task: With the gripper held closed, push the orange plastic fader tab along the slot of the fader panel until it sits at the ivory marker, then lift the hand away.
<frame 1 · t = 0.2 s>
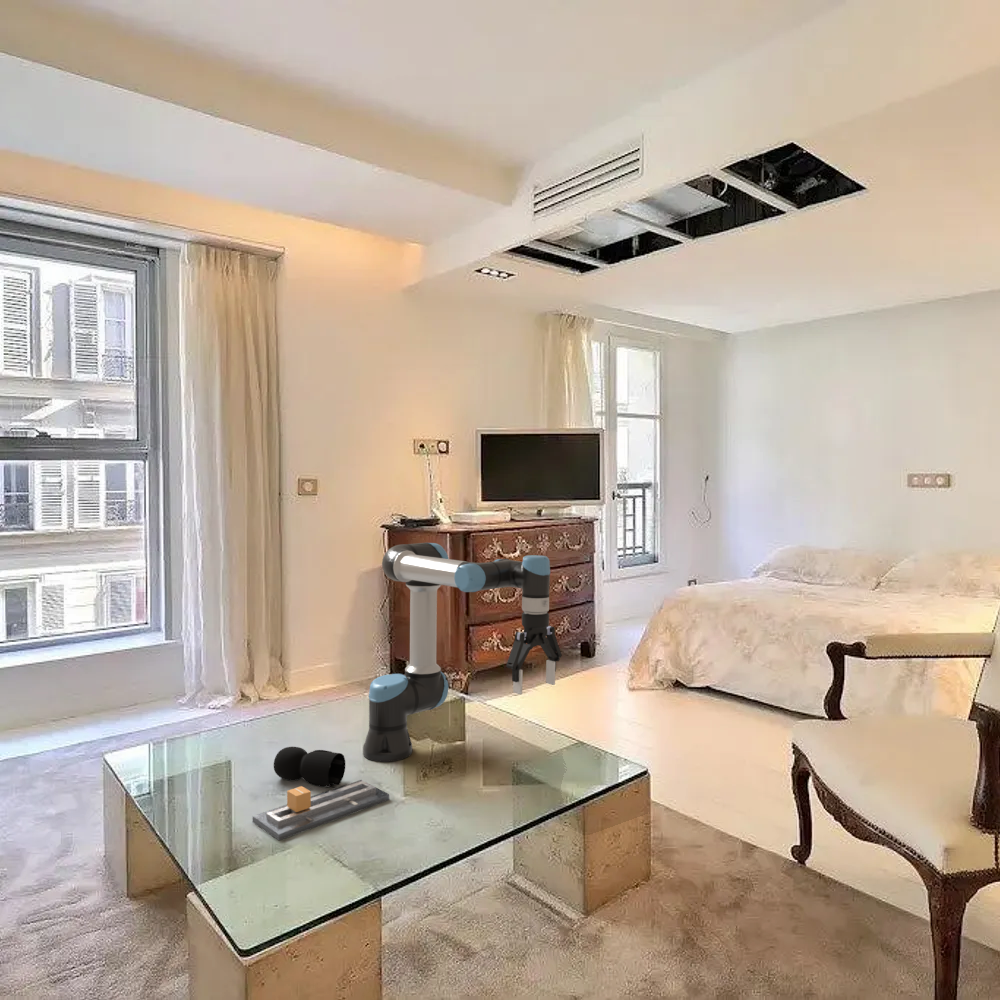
hand: (534, 688, 203), 28 cm above the table, fingers open, 13 cm apart
black hourglass-shaped sleeve: (308, 782, 207), on the table
fader panel: (323, 810, 189), on the table
fader knob: (298, 801, 183), point 4 cm above the table, slide at -7.0 cm
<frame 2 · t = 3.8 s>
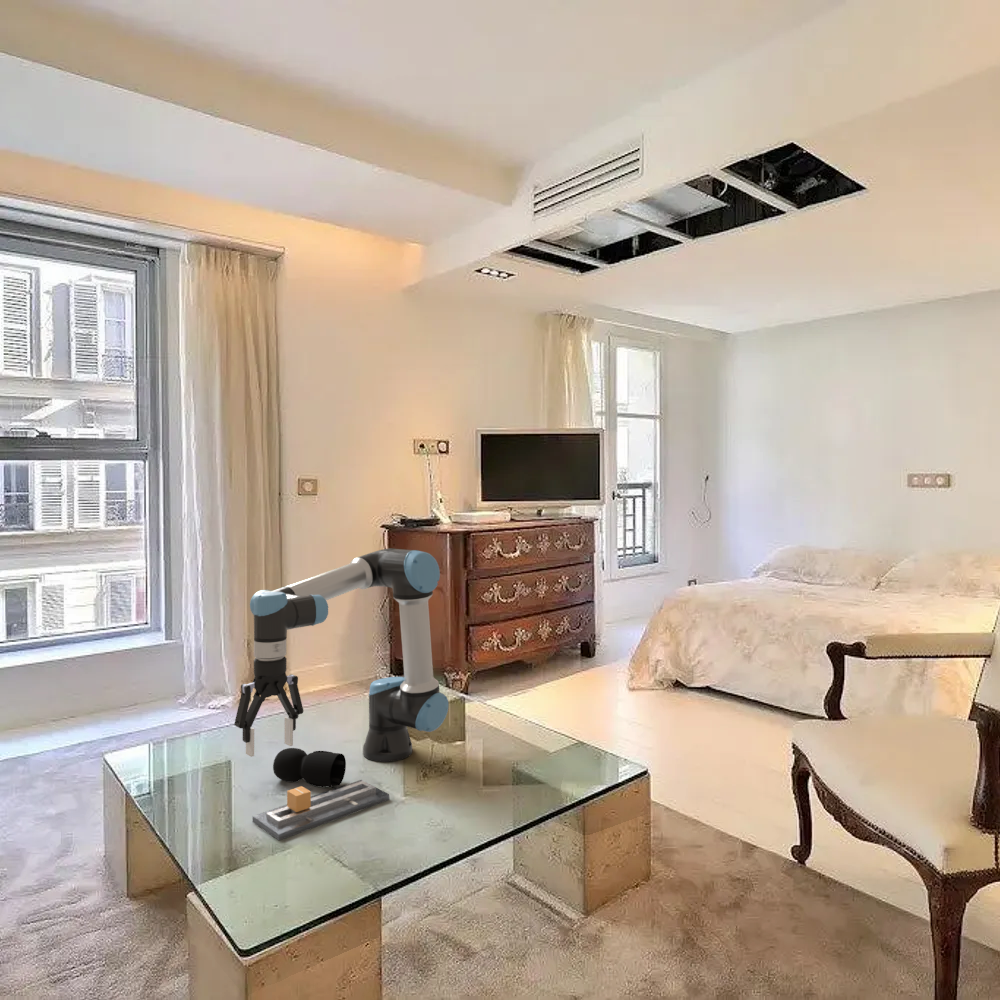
hand: (269, 749, 177), 20 cm above the table, fingers open, 9 cm apart
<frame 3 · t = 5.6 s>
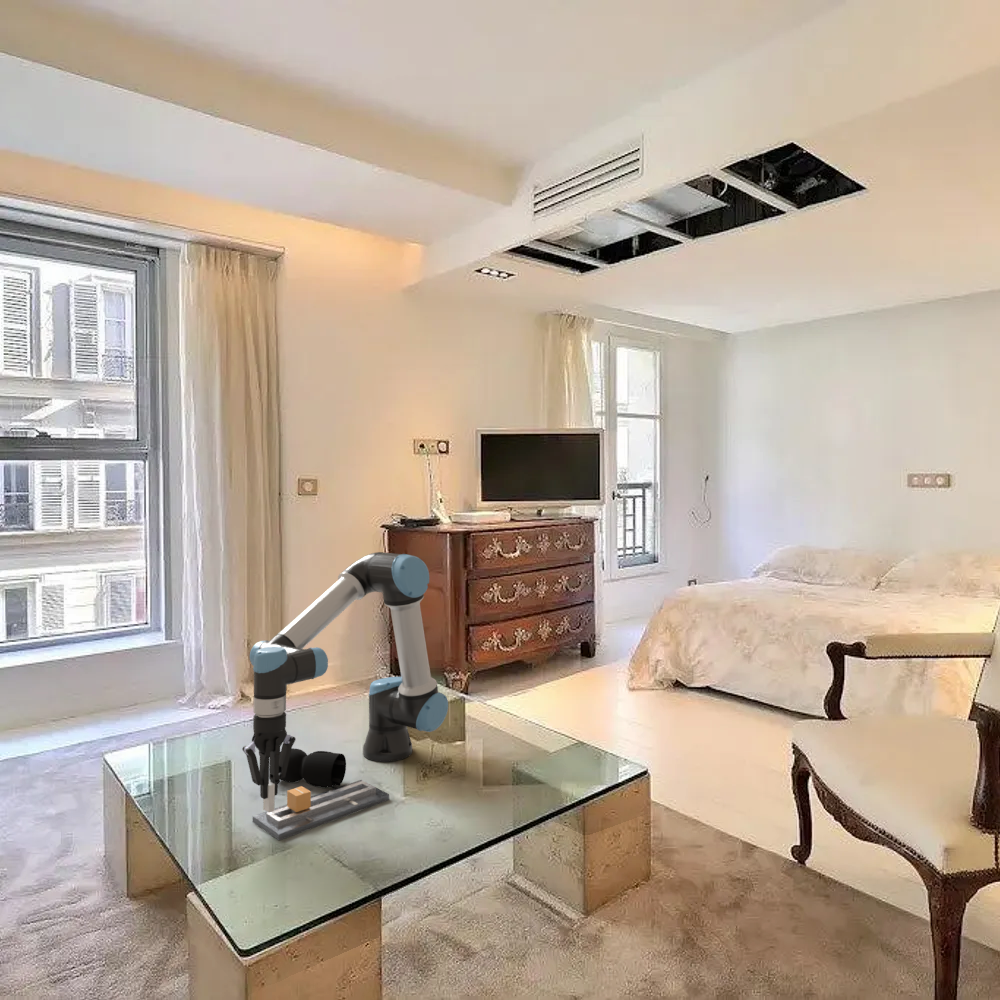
hand: (268, 809, 178), 5 cm above the table, fingers closed
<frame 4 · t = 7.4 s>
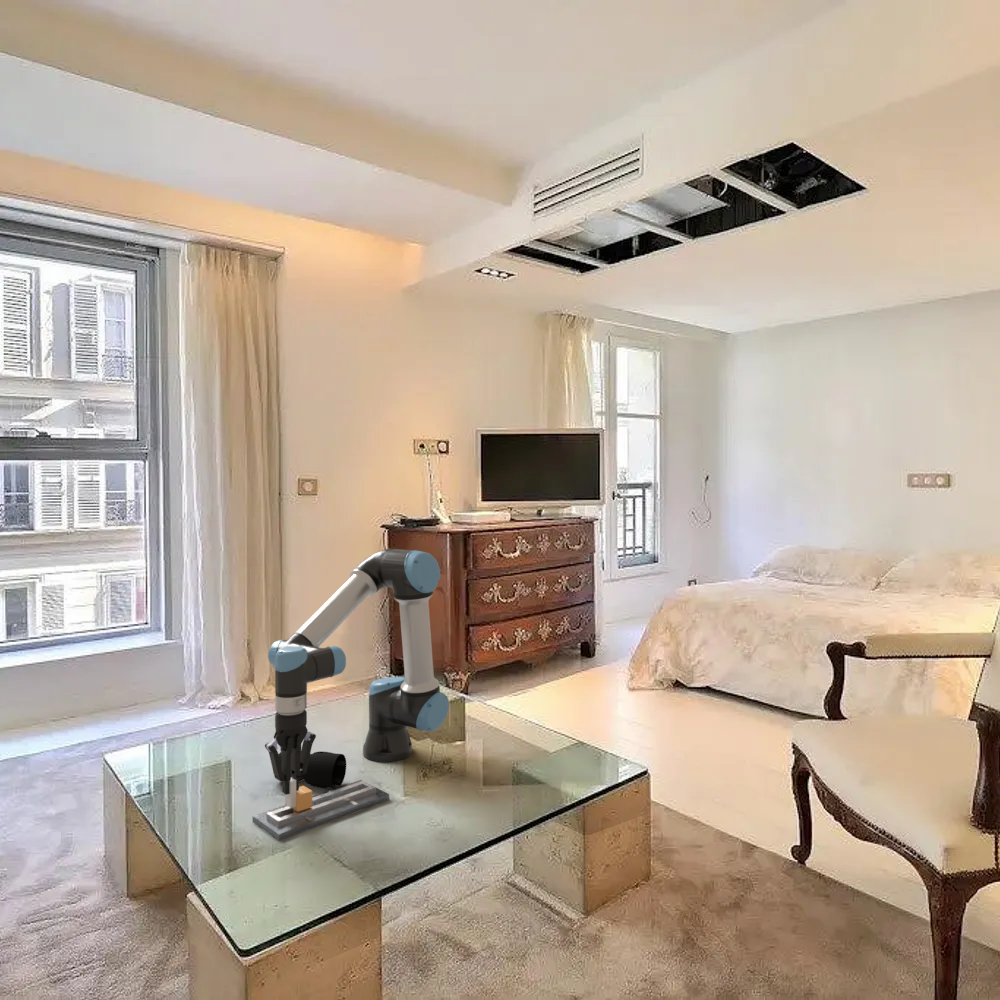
hand: (290, 805, 182), 4 cm above the table, fingers closed
fader knob: (300, 800, 184), point 4 cm above the table, slide at -6.5 cm, touching gripper
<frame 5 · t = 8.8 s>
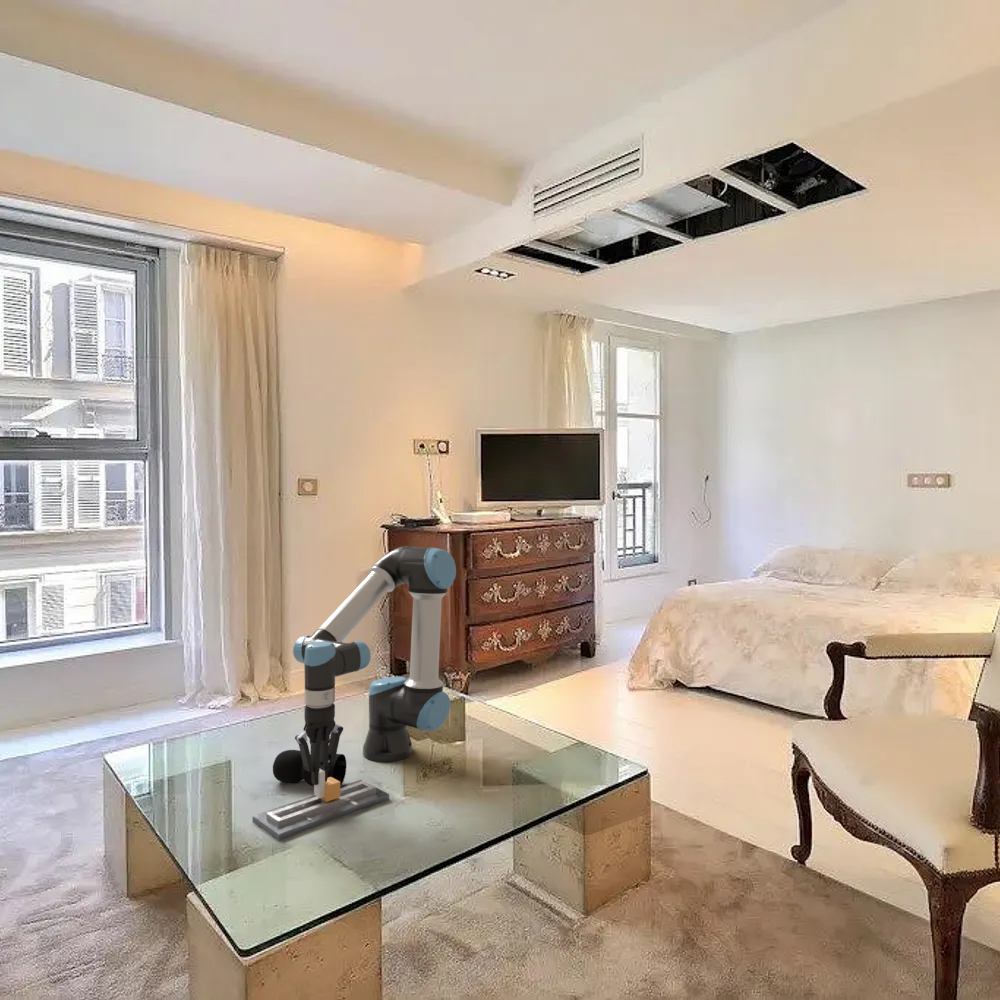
hand: (319, 795, 188), 4 cm above the table, fingers closed
fader knob: (328, 791, 190), point 4 cm above the table, slide at 1.6 cm, touching gripper
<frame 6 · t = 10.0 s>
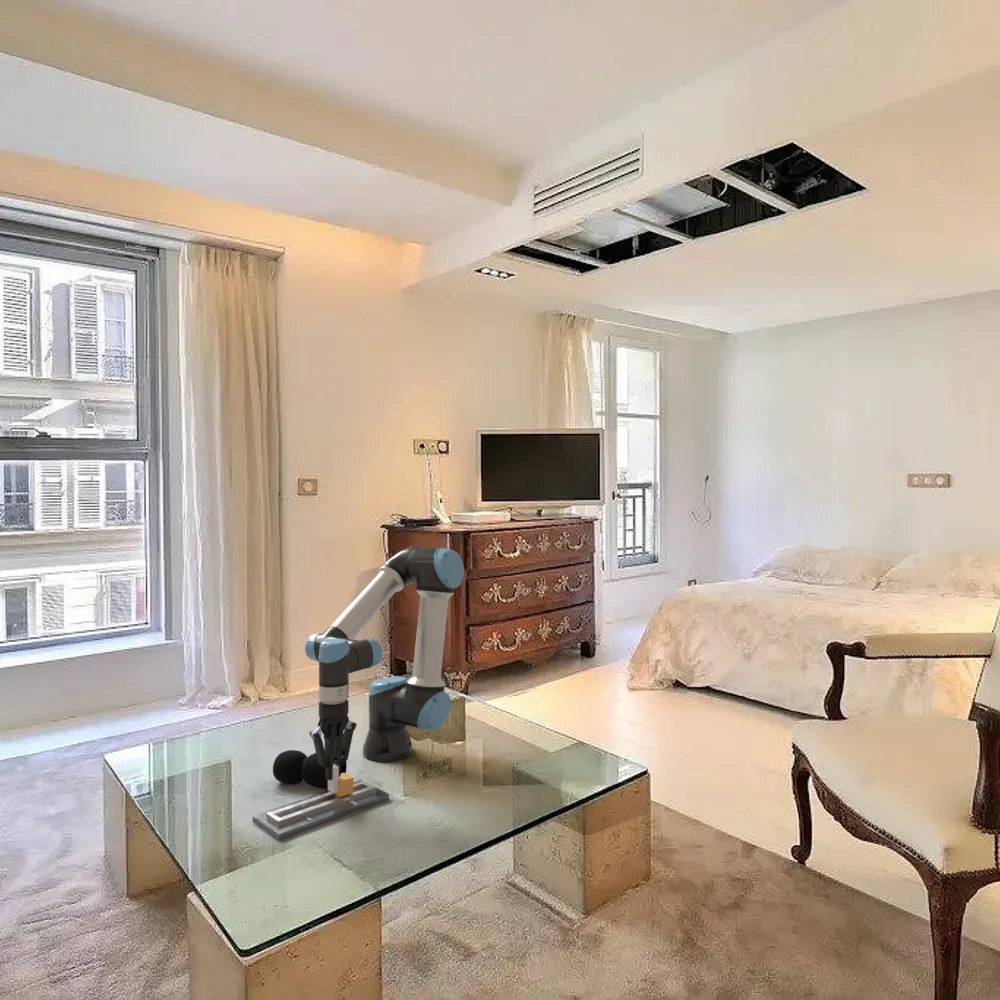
hand: (333, 790, 190), 4 cm above the table, fingers closed
fader knob: (342, 786, 192), point 4 cm above the table, slide at 5.6 cm, touching gripper
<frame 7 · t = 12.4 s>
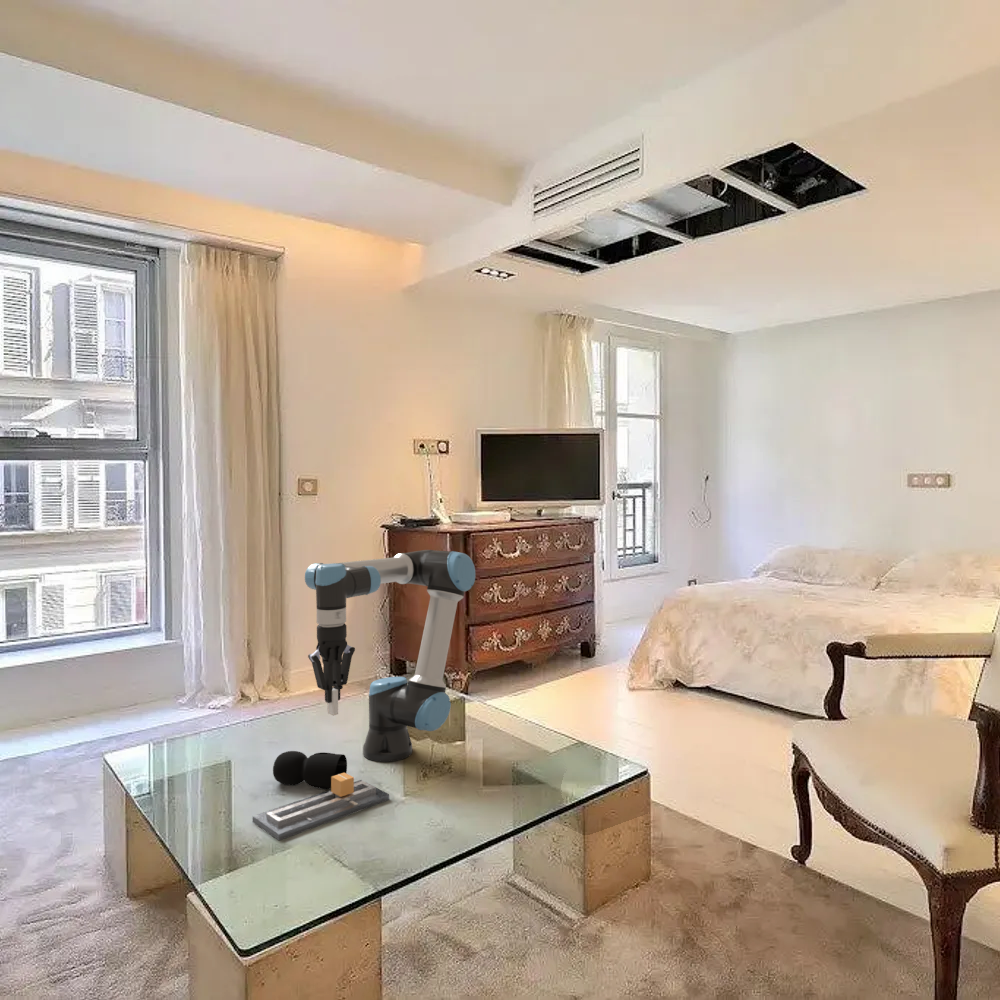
hand: (332, 713, 191), 24 cm above the table, fingers closed
fader knob: (342, 786, 192), point 5 cm above the table, slide at 5.7 cm
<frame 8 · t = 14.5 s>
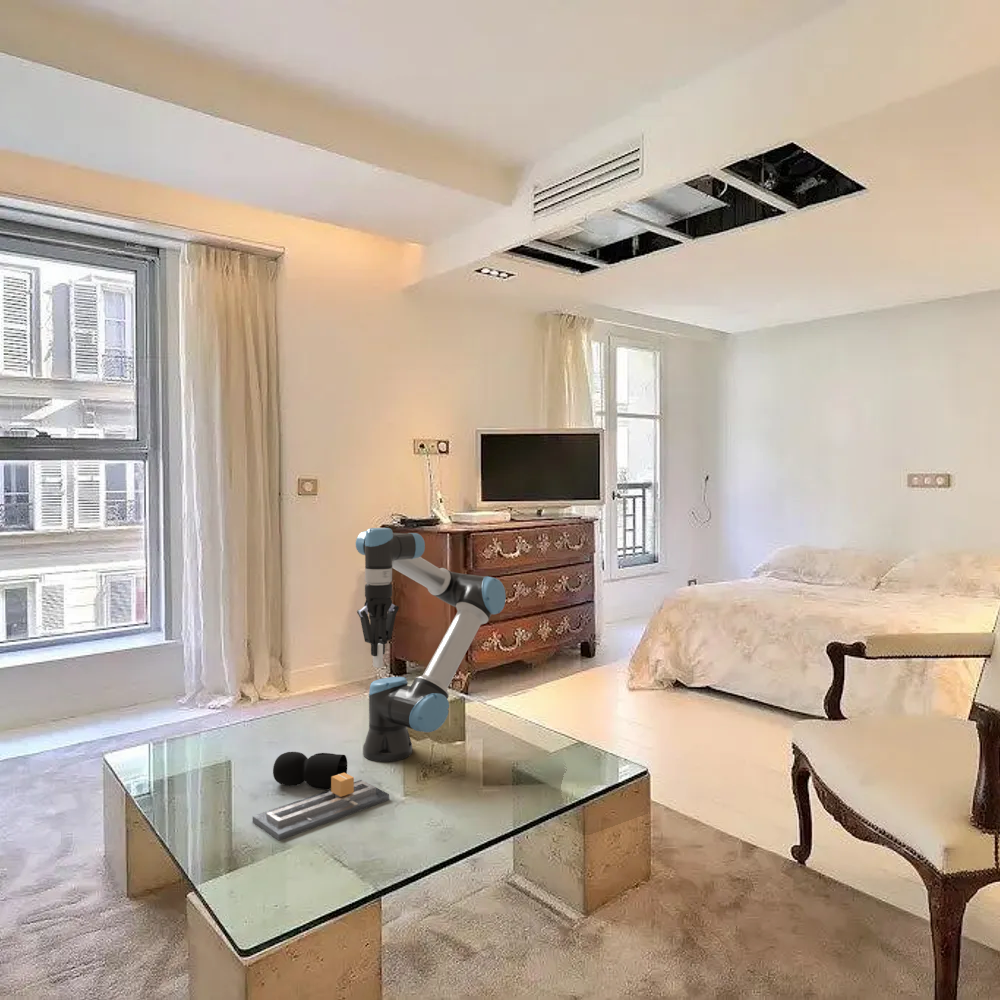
hand: (377, 666, 207), 32 cm above the table, fingers closed
at the end: fader knob slide at 5.7 cm; fader knob touching nothing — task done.
